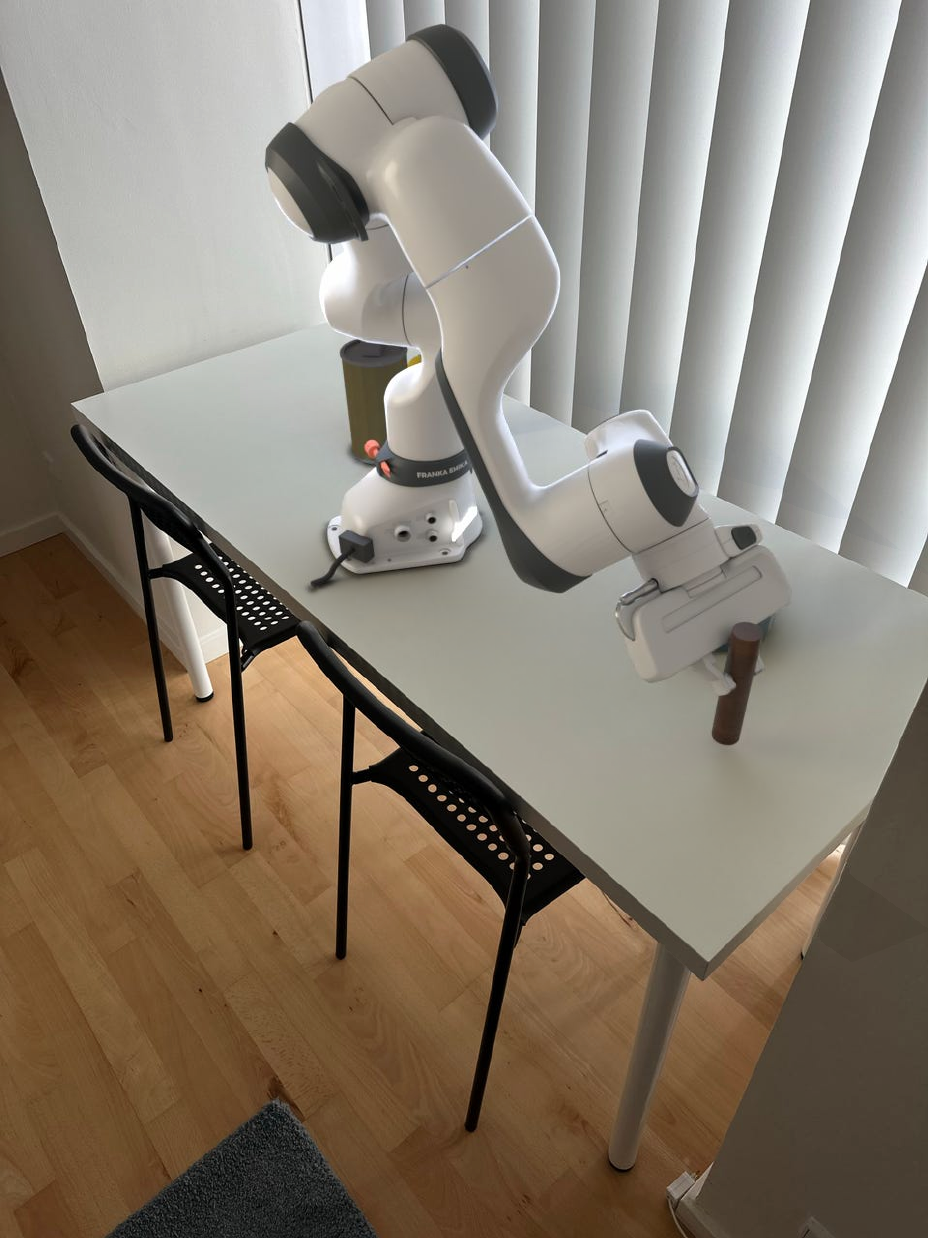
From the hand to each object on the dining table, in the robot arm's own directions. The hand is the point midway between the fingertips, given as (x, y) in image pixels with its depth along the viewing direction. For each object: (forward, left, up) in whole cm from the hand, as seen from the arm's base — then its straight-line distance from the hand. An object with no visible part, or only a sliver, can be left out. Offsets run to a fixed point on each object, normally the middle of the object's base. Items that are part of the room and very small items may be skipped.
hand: (742, 682), depth 97 cm
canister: (-15, +78, -10) cm, 81 cm away
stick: (0, +1, -8) cm, 8 cm away
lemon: (-3, +93, -10) cm, 94 cm away
